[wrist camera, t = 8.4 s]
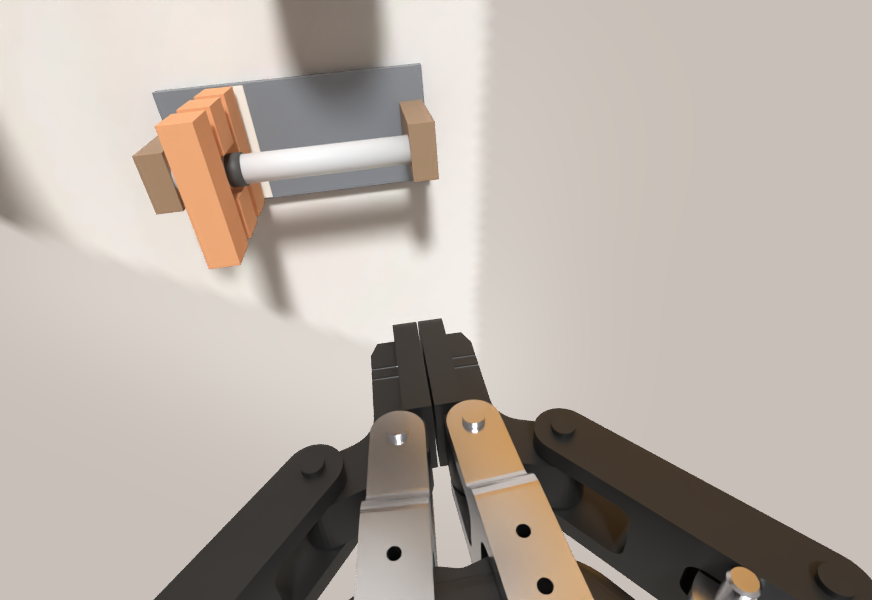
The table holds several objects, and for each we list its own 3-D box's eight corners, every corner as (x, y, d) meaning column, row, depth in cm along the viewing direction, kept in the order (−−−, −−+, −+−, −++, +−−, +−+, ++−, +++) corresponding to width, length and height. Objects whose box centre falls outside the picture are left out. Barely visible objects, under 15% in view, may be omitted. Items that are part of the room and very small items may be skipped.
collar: (240, 204, 41) (208, 269, 32) (204, 89, 36) (154, 126, 27) (264, 201, 41) (240, 264, 32) (232, 86, 36) (192, 122, 27)
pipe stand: (196, 203, 42) (167, 247, 35) (155, 91, 37) (111, 116, 30) (429, 175, 43) (443, 211, 37) (419, 63, 39) (434, 81, 32)
